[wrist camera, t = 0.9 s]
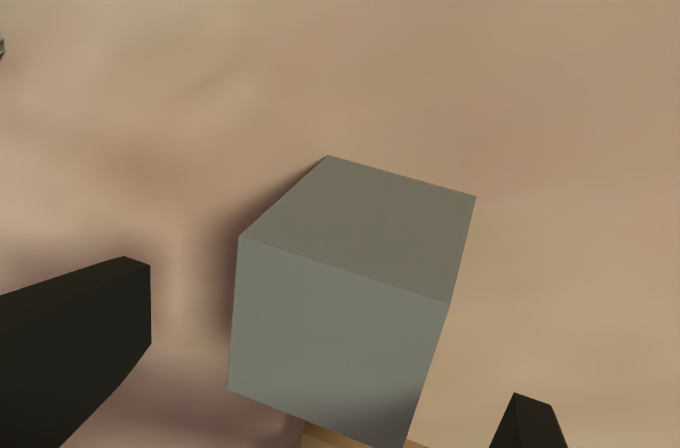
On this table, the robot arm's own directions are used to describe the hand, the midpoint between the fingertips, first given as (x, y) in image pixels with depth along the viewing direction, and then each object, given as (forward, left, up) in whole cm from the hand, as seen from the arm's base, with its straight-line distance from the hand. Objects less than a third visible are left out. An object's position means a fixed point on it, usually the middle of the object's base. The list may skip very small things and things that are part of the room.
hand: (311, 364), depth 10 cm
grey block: (0, 0, -5) cm, 5 cm away
